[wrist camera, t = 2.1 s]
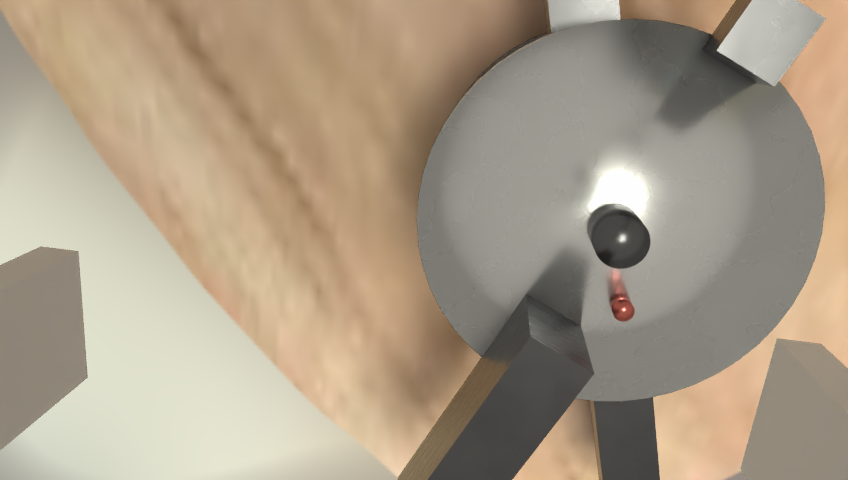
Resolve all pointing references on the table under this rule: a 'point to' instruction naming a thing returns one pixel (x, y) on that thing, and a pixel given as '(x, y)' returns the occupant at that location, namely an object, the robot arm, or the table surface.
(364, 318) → the table surface
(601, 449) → the pot
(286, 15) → the table surface
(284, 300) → the table surface
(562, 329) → the lid
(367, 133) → the table surface
